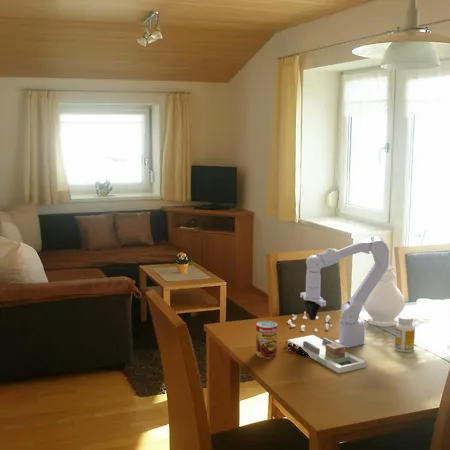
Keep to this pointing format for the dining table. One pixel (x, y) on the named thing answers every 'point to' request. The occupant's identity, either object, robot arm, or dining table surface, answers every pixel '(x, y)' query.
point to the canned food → (266, 338)
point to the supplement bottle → (404, 334)
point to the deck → (317, 352)
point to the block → (335, 350)
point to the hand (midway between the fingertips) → (312, 319)
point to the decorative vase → (385, 301)
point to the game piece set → (306, 318)
